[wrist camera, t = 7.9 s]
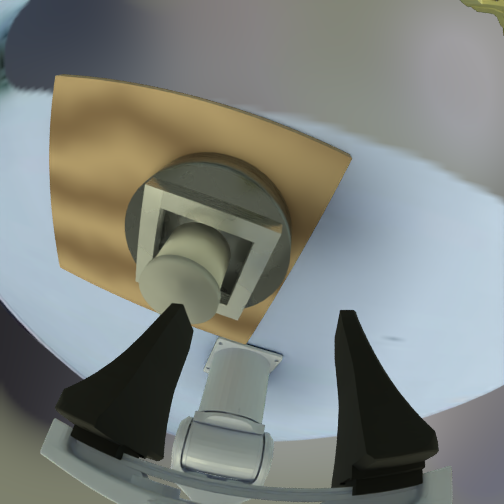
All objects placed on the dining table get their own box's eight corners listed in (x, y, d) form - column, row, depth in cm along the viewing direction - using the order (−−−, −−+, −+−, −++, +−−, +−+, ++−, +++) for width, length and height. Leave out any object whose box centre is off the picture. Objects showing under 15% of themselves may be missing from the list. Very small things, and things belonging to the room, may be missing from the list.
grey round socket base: (259, 303, 25) (252, 339, 22) (137, 257, 24) (116, 287, 21) (319, 190, 18) (324, 220, 15) (155, 131, 17) (123, 148, 14)
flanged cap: (222, 285, 20) (207, 333, 17) (162, 262, 20) (137, 306, 16) (243, 235, 18) (228, 283, 14) (172, 209, 17) (141, 249, 14)
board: (247, 337, 30) (245, 344, 30) (64, 262, 28) (60, 267, 28) (349, 154, 17) (352, 158, 16) (63, 74, 15) (55, 75, 14)
